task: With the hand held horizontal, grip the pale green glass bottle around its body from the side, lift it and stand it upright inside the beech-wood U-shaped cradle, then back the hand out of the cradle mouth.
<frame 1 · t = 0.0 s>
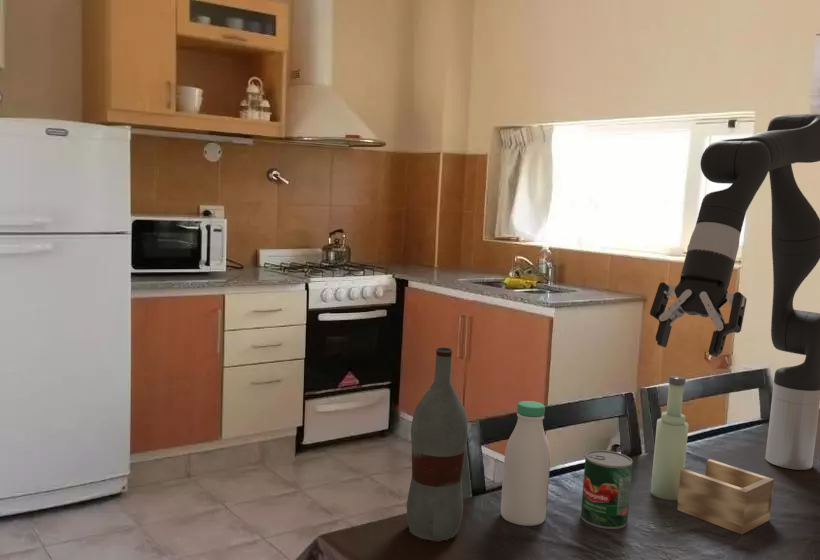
hand: (686, 350, 125), 31 cm above the table, tool tilted 20°, fingers open, 8 cm apart
milk bottle: (522, 518, 134), on the table
glass bottle: (665, 494, 148), on the table
cradle: (722, 515, 140), on the table
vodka: (433, 531, 127), on the table
canned tomato: (603, 520, 135), on the table
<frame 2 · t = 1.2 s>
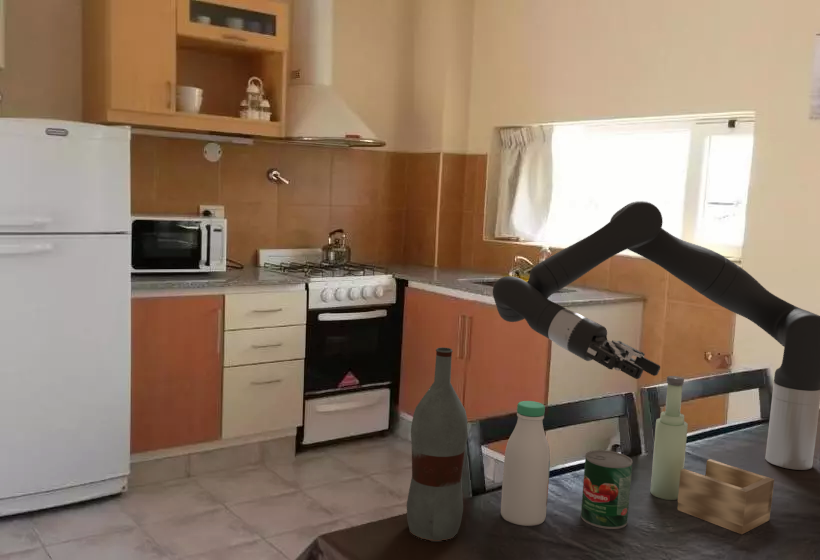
hand: (649, 372, 146), 23 cm above the table, tool tilted 75°, fingers open, 8 cm apart
nothing on the table moved.
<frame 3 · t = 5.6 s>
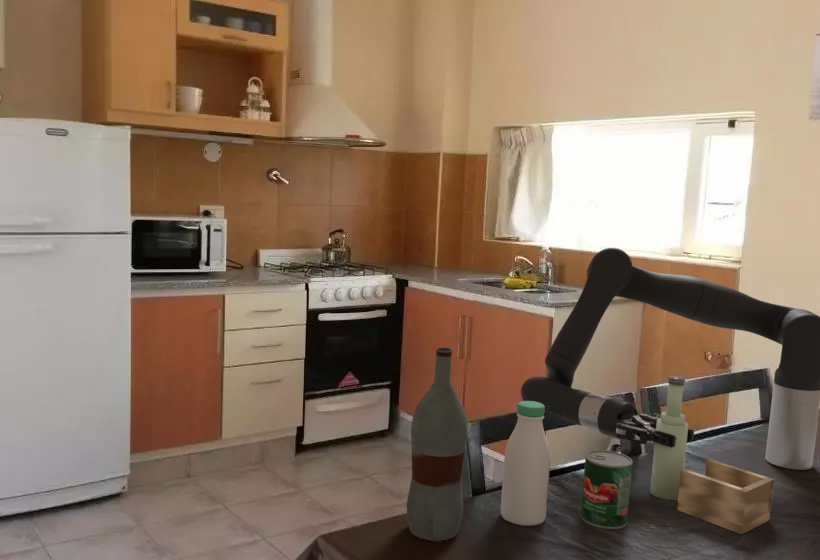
hand: (683, 438, 145), 11 cm above the table, tool horizontal, fingers closed on glass bottle, 5 cm apart
glass bottle: (665, 494, 148), on the table, touching gripper
everything else where it was.
when the fingers open (14 cm above the table, at t = 11.4 s): glass bottle stays where it is, resting on cradle.
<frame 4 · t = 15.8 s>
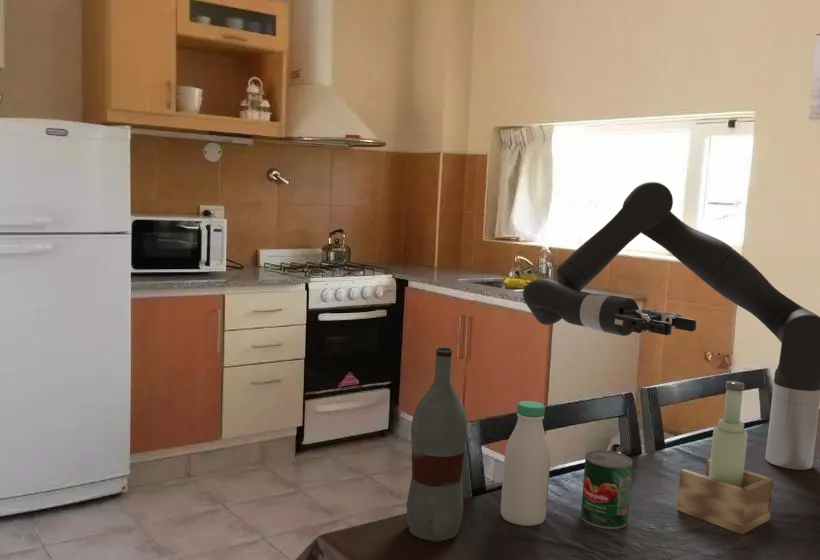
hand: (683, 327, 144), 32 cm above the table, tool horizontal, fingers open, 8 cm apart
glass bottle: (722, 506, 140), point 2 cm above the table, touching cradle
everything else where it was.
at the end: glass bottle 0.2 cm from the cradle (horizontally); glass bottle tilted 1°; glass bottle point 1.5 cm above the table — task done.
